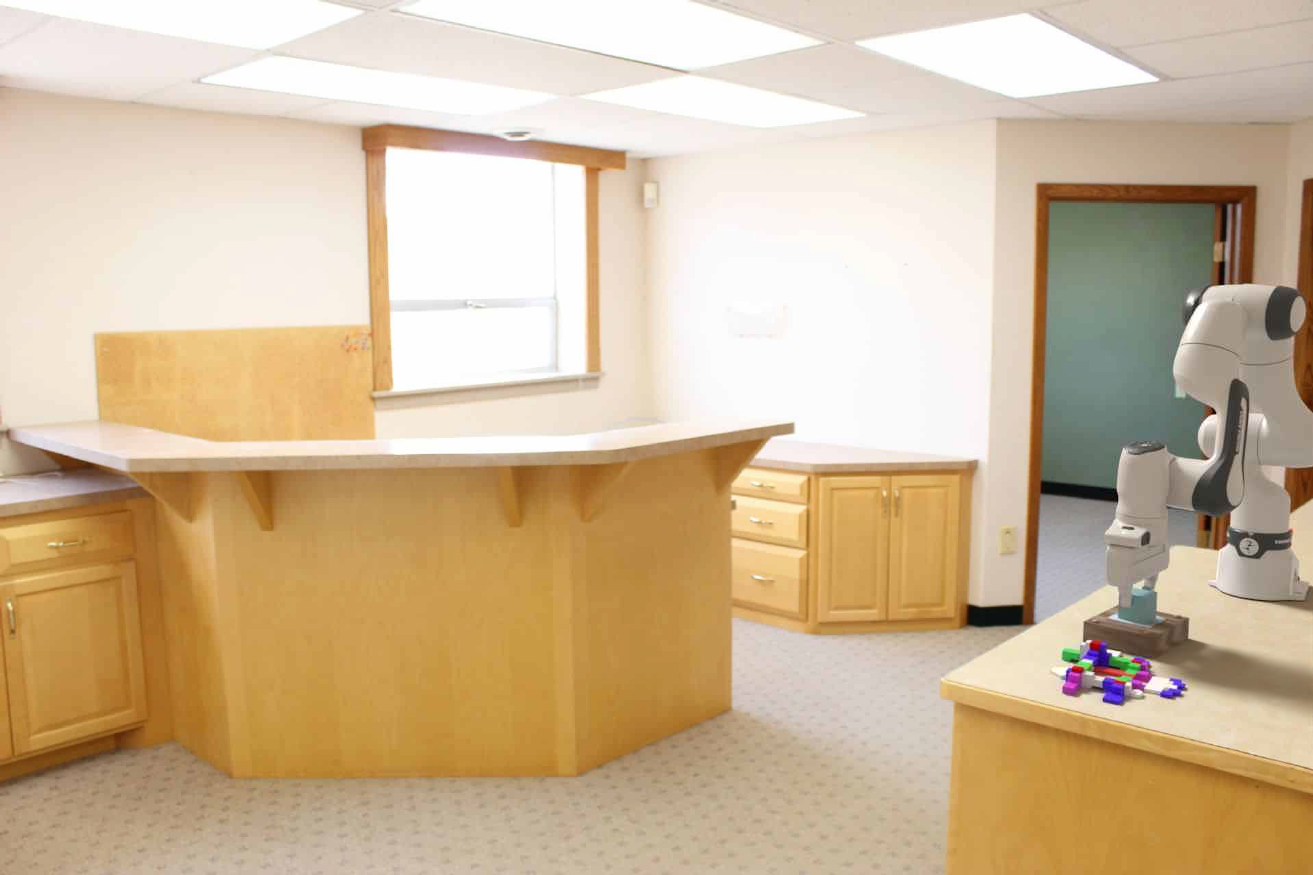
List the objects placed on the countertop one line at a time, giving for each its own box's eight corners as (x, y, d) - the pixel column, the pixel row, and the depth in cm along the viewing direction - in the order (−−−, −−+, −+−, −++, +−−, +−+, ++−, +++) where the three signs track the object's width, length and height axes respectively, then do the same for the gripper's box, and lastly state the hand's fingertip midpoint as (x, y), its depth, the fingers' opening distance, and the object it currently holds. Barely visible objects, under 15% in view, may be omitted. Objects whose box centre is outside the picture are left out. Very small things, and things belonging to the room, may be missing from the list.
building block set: (1167, 717, 163) (1168, 690, 162) (1033, 690, 175) (1033, 664, 175) (1197, 671, 183) (1198, 646, 182) (1074, 649, 195) (1075, 626, 195)
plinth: (1119, 623, 208) (1120, 602, 208) (1188, 637, 199) (1189, 615, 198) (1082, 642, 197) (1083, 619, 197) (1153, 658, 188) (1154, 635, 187)
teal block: (1129, 612, 201) (1130, 587, 200) (1156, 617, 197) (1157, 592, 197) (1118, 618, 198) (1119, 592, 197) (1145, 623, 194) (1146, 597, 193)
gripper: (1146, 518, 205) (1143, 586, 206) (1100, 535, 191) (1097, 608, 193) (1180, 522, 200) (1176, 593, 202) (1135, 540, 186) (1132, 616, 188)
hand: (1137, 601), depth 197 cm, fingers open, 8 cm apart
